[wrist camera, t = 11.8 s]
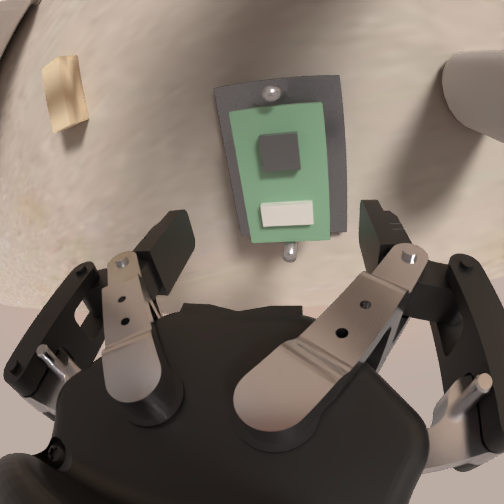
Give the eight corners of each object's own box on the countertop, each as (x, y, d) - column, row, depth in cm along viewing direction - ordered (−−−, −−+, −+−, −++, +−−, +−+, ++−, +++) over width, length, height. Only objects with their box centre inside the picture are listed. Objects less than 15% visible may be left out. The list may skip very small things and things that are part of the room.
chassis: (217, 88, 20) (187, 89, 15) (337, 75, 18) (352, 70, 12) (243, 231, 27) (228, 271, 22) (345, 226, 25) (355, 267, 20)
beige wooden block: (60, 66, 19) (41, 69, 16) (77, 55, 18) (58, 56, 16) (71, 127, 23) (53, 133, 21) (88, 118, 23) (70, 124, 20)
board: (233, 110, 17) (225, 113, 15) (320, 101, 16) (323, 103, 14) (254, 233, 23) (250, 248, 21) (328, 230, 21) (330, 245, 19)
